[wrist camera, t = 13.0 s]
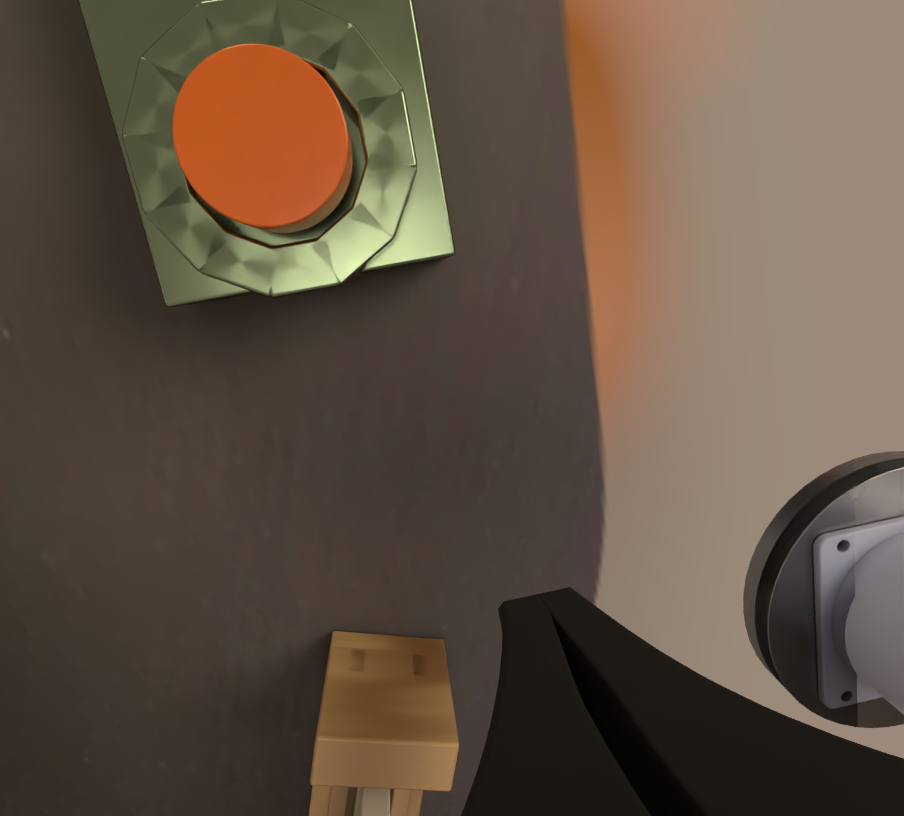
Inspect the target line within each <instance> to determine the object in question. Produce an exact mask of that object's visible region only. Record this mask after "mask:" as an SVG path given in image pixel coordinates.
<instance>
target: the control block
mask: <svg viewBox="0 0 904 816" xmlns="http://www.w3.org/2000/svg"><path fill="white" fill-rule="evenodd" d="M78 2H79V5H80V8H81V12H82V15H83V19H84V22H85V26H86V29H87V33H88V36H89V40H90V43H91V47H92V50H93V54H94V57H95V61H96V64H97V68H98V71H99V75H100V78H101V82H102V85H103V89H104V92H105V95H106V99H107V102H108V106H109V109H110V113H111V116H112V120H113V123H114V127H115V130H116V134H117V137H118V141H119V144H120V148H121V151H122V155H123V158H124V162H125V165H126V169H127V172H128V176H129V179H130V182H131V186H132V189H133V193H134V196H135V200H136V203H137V207H138V210H139V214H140V217H141V221H142V224H143V228H144V231H145V235H146V238H147V242H148V245H149V249H150V252H151V256H152V259H153V263H154V266H155V269H156V273H157V276H158V280H159V283H160V287H161V290H162V294H163V297H164V301H165V304H166V306H167V307H175V306H182V305H190V304H196V303H202V302H207V301H213V300H218V299H224V298H229V297H235V296H241V295H246V294H252V293H258V294H261V295H263V296H266V297H271V296H272V297H281V296H287V295H292V294H298V293H303V292H309V291H314V290H319V289H325V288H330V287H336V286H341V285H344V284H347V283H349V282H350V281H351V280H352V279H353V278H354V277H356V276H357V275H358V274H362V273H367V272H373V271H378V270H384V269H389V268H395V267H400V266H406V265H411V264H417V263H422V262H428V261H433V260H439V259H444V258H448V257H451V256H453V255H455V247H454V242H453V236H452V230H451V224H450V218H449V212H448V206H447V200H446V195H445V189H444V183H443V177H442V171H441V165H440V159H439V153H438V148H437V142H436V136H435V130H434V124H433V118H432V112H431V106H430V101H429V95H428V89H427V83H426V77H425V71H424V65H423V59H422V54H421V48H420V42H419V36H418V30H417V24H416V18H415V13H414V7H413V1H412V0H78ZM240 44H264V45H269V46H274V47H278V48H280V49H283V50H286V51H288V52H290V53H292V54H294V55H296V56H298V57H300V58H301V59H303V60H304V61H306V62H307V63H308V64H310V65H311V66H312V67H313V68H314V69H315V70H317V71H318V72H319V74H320V75H321V76H322V77H323V78H324V79H325V80H326V82H327V83H328V84H329V86H330V87H331V89H332V90H333V92H334V94H335V95H336V97H337V99H338V101H339V103H340V106H341V108H342V111H343V114H344V117H345V121H346V124H347V128H348V131H349V135H350V139H351V144H352V151H353V166H352V174H351V178H350V182H349V185H348V188H347V190H346V193H345V195H344V196H343V198H342V200H341V202H340V203H339V204H338V206H337V207H336V208H335V209H334V210H333V211H332V212H331V214H330V215H329V216H327V217H326V218H325V219H323V220H322V221H321V222H319V223H317V224H316V225H314V226H312V227H309V228H307V229H304V230H301V231H297V232H290V233H272V232H266V231H262V230H259V229H255V228H253V227H250V226H247V225H244V224H242V223H239V222H237V221H234V220H232V219H230V218H227V217H226V216H224V215H222V214H221V213H219V212H217V211H216V210H215V209H213V208H212V207H211V206H209V205H208V204H207V203H206V202H205V201H204V200H203V199H202V198H201V197H200V196H199V195H198V194H197V192H196V191H195V190H194V189H193V188H192V186H191V185H190V183H189V182H188V180H187V178H186V177H185V175H184V173H183V171H182V169H181V167H180V164H179V161H178V158H177V155H176V152H175V147H174V142H173V132H172V123H173V113H174V107H175V103H176V100H177V97H178V94H179V92H180V90H181V88H182V86H183V84H184V82H185V80H186V79H187V77H188V76H189V75H190V73H191V72H192V71H193V70H194V69H195V68H196V67H197V66H198V64H200V63H201V62H202V61H203V60H205V59H206V58H207V57H209V56H210V55H212V54H214V53H216V52H217V51H220V50H222V49H225V48H227V47H231V46H236V45H240Z"/></svg>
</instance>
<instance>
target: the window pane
mask: <svg viewBox="0 0 904 816" xmlns="http://www.w3.org/2000/svg"><path fill="white" fill-rule="evenodd" d="M353 816H390V789H383V788H359V787H357V789H356V796H355V803H354V810H353Z"/></svg>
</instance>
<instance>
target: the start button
mask: <svg viewBox="0 0 904 816" xmlns="http://www.w3.org/2000/svg"><path fill="white" fill-rule="evenodd" d="M172 132H173V142H174V147H175V152H176V155H177V158H178V161H179V164H180V167H181V169H182V171H183V173H184V175H185V177H186V178H187V180H188V182H189V183H190V185H191V186H192V188H193V189H194V190H195V191H196V192H197V194H198V195H199V196H200V197H201V198H202V199H203V200H204V201H205V202H206V203H207V204H208V205H209V206H211V207H212V208H213V209H215V210H216V211H217V212H219V213H221V214H222V215H224V216H226V217H227V218H230V219H232V220H234V221H237V222H239V223H242V224H244V225H247V226H250V227H253V228H255V229H259V230H262V231H266V232H272V233H290V232H297V231H301V230H304V229H307V228H309V227H312V226H314V225H316V224H317V223H319V222H321V221H322V220H323V219H325V218H326V217H327V216H329V215H330V214H331V212H332V211H333V210H334V209H335V208H336V207H337V206H338V204H339V203H340V202H341V200H342V198H343V196H344V195H345V193H346V190H347V188H348V185H349V182H350V178H351V174H352V166H353V151H352V144H351V139H350V135H349V131H348V128H347V124H346V121H345V117H344V114H343V111H342V108H341V106H340V103H339V101H338V99H337V97H336V95H335V94H334V92H333V90H332V89H331V87H330V86H329V84H328V83H327V82H326V80H325V79H324V78H323V77H322V76H321V75H320V74H319V72H318V71H317V70H315V69H314V68H313V67H312V66H311V65H310V64H308V63H307V62H306V61H304V60H303V59H301V58H300V57H298V56H296V55H294V54H292V53H290V52H288V51H286V50H283V49H280V48H278V47H274V46H269V45H264V44H240V45H236V46H231V47H227V48H225V49H222V50H220V51H217V52H216V53H214V54H212V55H210V56H209V57H207V58H206V59H205V60H203V61H202V62H201V63H200V64H198V66H197V67H196V68H195V69H194V70H193V71H192V72H191V73H190V75H189V76H188V77H187V79H186V80H185V82H184V84H183V86H182V88H181V90H180V92H179V94H178V97H177V100H176V103H175V107H174V113H173V123H172Z"/></svg>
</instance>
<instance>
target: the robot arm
mask: <svg viewBox="0 0 904 816" xmlns="http://www.w3.org/2000/svg"><path fill="white" fill-rule="evenodd" d="M840 541H842V543H841V545H840V546H839V547H837V545H838V543H839V542H840ZM813 558H814V585H815V612H816V639H817V666H818V693H819V699H820V701H821V702H822V703H823V704H824V705H825V706H826V707H828V708H831V709H832V708H839V707H843V706H847V705H851V704H856V703H860V702H864V701H868V700H872V699H877V698H881V697H883V698H884V699H886V700H887V701H888V702H889V703H890V704H891V705H893V706H894V707H895V708H896V709H897V710H899V711H900V712H901V713H902V714H903V715H904V516H902V517H898V518H893V519H889V520H884V521H879V522H875V523H870V524H866V525H861V526H857V527H852V528H848V529H843V530H838V531H834V532H829V533H825V534H822V535H820V536H819V537H818V538H817V539H816V540H815V542H814V545H813ZM498 610H499V616H500V621H501V627H502V634H503V636H502V656H501V666H500V676H499V683H498V689H497V694H496V699H495V705H494V710H493V715H492V720H491V724H490V728H489V732H488V736H487V740H486V744H485V747H484V751H483V754H482V757H481V761H480V764H479V767H478V770H477V773H476V776H475V779H474V782H473V785H472V787H471V790H470V793H469V796H468V799H467V801H466V804H465V807H464V810H463V812H462V815H461V816H904V759H903V758H900V757H897V756H893V755H890V754H887V753H883V752H881V751H878V750H874V749H872V748H869V747H866V746H863V745H860V744H857V743H855V742H852V741H849V740H846V739H843V738H841V737H838V736H835V735H832V734H830V733H827V732H825V731H822V730H820V729H817V728H815V727H812V726H810V725H807V724H805V723H802V722H800V721H797V720H795V719H792V718H789V717H787V716H785V715H782V714H780V713H778V712H776V711H773V710H771V709H769V708H767V707H764V706H762V705H760V704H758V703H755V702H754V701H752V700H750V699H747V698H745V697H743V696H741V695H739V694H737V693H735V692H733V691H731V690H729V689H727V688H725V687H723V686H721V685H719V684H717V683H715V682H713V681H711V680H709V679H707V678H705V677H704V676H702V675H700V674H698V673H696V672H695V671H693V670H691V669H690V668H688V667H686V666H684V665H683V664H681V663H679V662H678V661H676V660H674V659H672V658H671V657H669V656H667V655H666V654H664V653H662V652H661V651H659V650H658V649H656V648H655V647H653V646H651V645H650V644H648V643H647V642H646V641H644V640H643V639H641V638H640V637H638V636H637V635H635V634H634V633H632V632H631V631H629V630H628V629H626V628H625V627H624V626H622V625H621V624H619V623H618V622H617V621H615V620H614V619H612V618H611V617H610V616H608V615H607V614H605V613H604V612H603V611H602V610H600V609H599V608H597V607H596V606H595V605H593V604H592V603H591V602H589V601H588V600H587V599H585V598H584V597H583V596H581V595H580V594H579V593H577V592H576V591H575V590H573V589H572V588H570V587H569V588H564V589H560V590H555V591H551V592H546V593H541V594H537V595H532V596H528V597H523V598H518V599H514V600H509V601H505V602H503V603H502V605H501V606H500V607H499V609H498Z"/></svg>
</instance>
